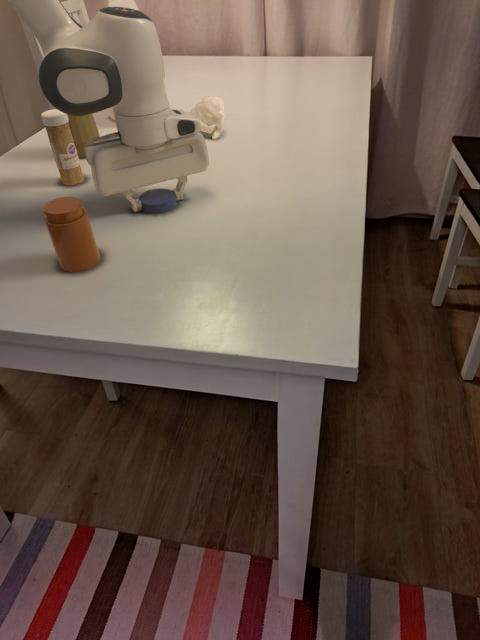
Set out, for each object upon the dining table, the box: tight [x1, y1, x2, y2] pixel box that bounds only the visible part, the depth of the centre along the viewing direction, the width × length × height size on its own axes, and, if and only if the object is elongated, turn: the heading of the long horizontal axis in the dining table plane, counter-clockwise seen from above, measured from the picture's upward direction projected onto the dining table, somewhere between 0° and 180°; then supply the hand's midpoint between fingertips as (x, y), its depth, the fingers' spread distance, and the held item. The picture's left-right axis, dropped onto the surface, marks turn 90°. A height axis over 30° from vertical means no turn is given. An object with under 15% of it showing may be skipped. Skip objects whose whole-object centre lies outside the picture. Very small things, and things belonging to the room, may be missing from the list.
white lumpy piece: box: [188, 95, 226, 140], centre depth 108 cm, size 6×8×12 cm
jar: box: [42, 196, 101, 273], centre depth 68 cm, size 6×6×10 cm
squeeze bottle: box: [67, 113, 100, 159], centre depth 99 cm, size 8×8×18 cm
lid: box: [138, 187, 178, 215], centre depth 84 cm, size 7×6×2 cm
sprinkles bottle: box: [40, 108, 85, 187], centre depth 90 cm, size 5×5×13 cm
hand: (158, 204), depth 84 cm, fingers closed on lid, 6 cm apart
